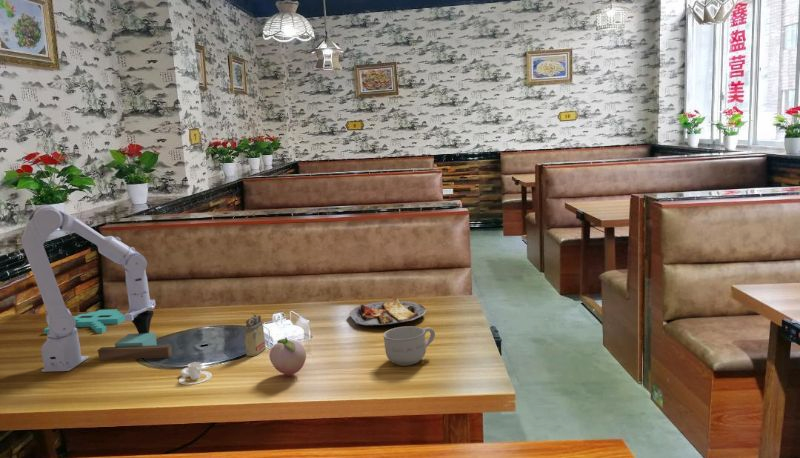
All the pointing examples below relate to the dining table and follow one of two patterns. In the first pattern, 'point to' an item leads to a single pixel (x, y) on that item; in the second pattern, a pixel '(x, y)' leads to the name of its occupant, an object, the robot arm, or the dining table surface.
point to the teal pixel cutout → (97, 320)
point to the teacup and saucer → (193, 373)
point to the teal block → (137, 340)
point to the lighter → (254, 336)
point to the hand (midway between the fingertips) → (144, 336)
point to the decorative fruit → (288, 356)
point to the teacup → (407, 344)
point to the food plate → (387, 312)
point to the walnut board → (134, 352)
